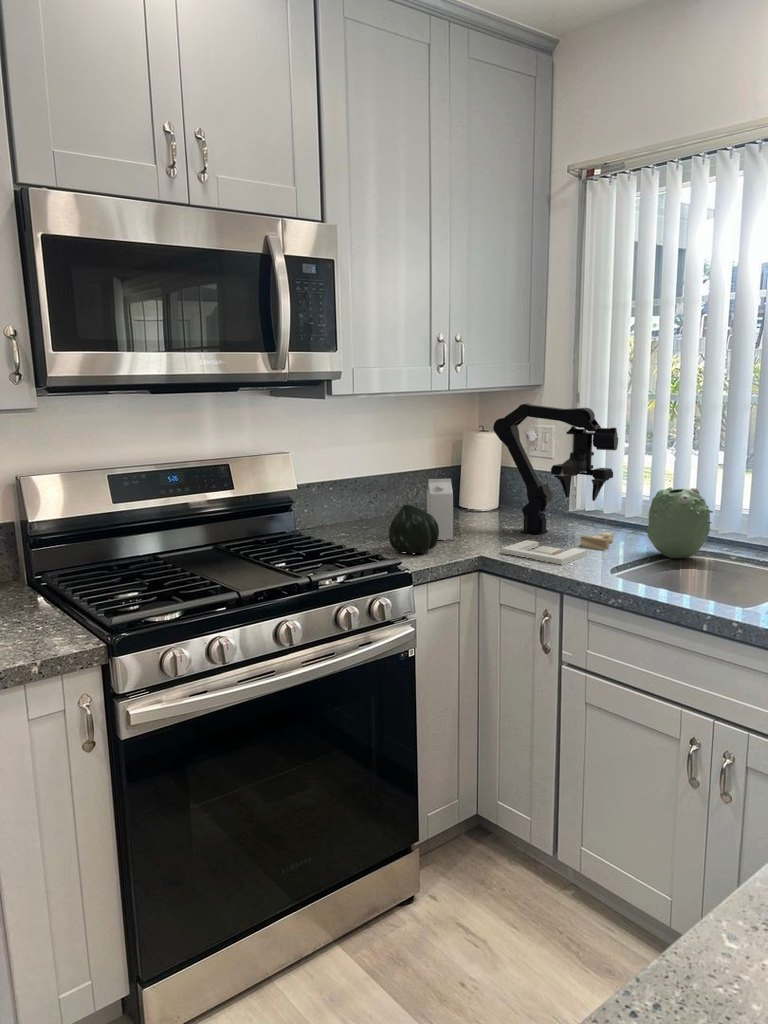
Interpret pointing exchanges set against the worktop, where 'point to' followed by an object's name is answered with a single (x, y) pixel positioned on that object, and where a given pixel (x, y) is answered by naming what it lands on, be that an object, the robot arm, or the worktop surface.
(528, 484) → the robot arm
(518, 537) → the worktop surface
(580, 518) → the worktop surface
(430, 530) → the squash
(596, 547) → the wooden pusher
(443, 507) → the milk carton
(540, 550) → the pale beige block
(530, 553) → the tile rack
